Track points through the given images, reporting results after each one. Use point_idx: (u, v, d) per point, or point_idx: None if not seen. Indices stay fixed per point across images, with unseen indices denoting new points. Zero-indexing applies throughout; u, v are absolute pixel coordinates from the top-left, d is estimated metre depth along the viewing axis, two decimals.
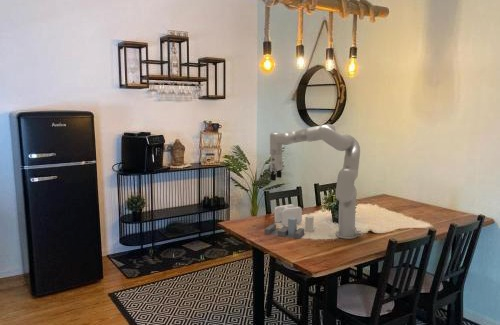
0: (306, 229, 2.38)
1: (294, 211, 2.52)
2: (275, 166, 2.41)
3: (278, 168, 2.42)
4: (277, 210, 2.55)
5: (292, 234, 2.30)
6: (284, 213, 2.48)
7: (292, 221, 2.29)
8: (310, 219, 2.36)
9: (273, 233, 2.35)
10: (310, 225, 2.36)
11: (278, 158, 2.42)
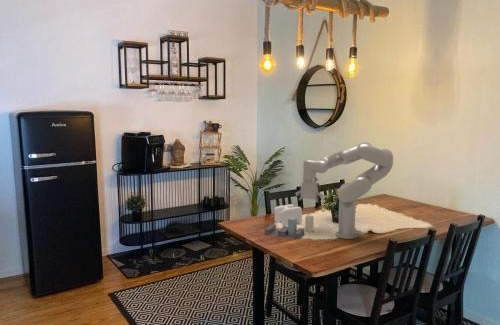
0: (306, 229, 2.38)
1: (294, 211, 2.52)
2: None
3: None
4: (277, 210, 2.55)
5: (292, 234, 2.30)
6: (284, 213, 2.48)
7: (292, 221, 2.29)
8: (310, 219, 2.36)
9: (273, 233, 2.35)
10: (310, 225, 2.36)
11: None
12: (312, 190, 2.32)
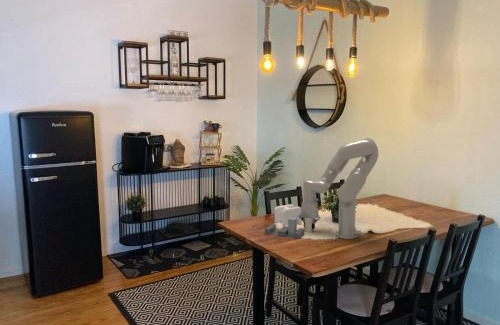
0: (306, 229, 2.38)
1: (294, 211, 2.52)
2: None
3: None
4: (277, 210, 2.55)
5: (292, 234, 2.30)
6: (284, 213, 2.48)
7: (292, 221, 2.29)
8: (310, 219, 2.36)
9: (273, 233, 2.35)
10: (310, 225, 2.36)
11: None
12: (312, 210, 2.34)
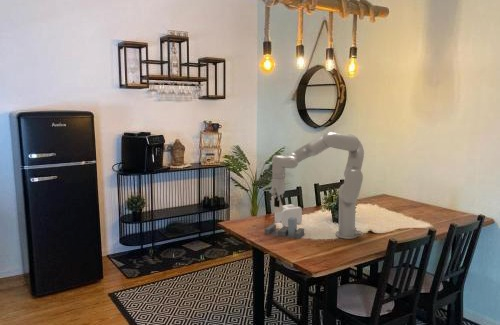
0: (280, 208, 2.33)
1: (294, 211, 2.52)
2: None
3: None
4: None
5: (292, 234, 2.30)
6: (284, 213, 2.48)
7: (292, 221, 2.29)
8: (279, 196, 2.35)
9: (273, 233, 2.35)
10: (281, 202, 2.35)
11: None
12: (284, 184, 2.34)
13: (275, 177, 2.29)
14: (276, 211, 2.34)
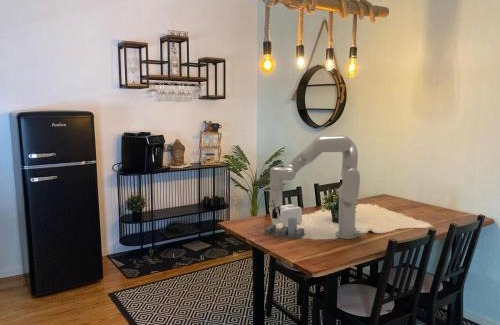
0: (278, 219, 2.34)
1: (294, 211, 2.52)
2: None
3: None
4: None
5: (292, 234, 2.30)
6: (284, 213, 2.48)
7: (292, 221, 2.29)
8: (277, 207, 2.36)
9: (273, 233, 2.35)
10: (278, 213, 2.36)
11: None
12: (281, 196, 2.35)
13: (273, 189, 2.30)
14: (274, 222, 2.34)
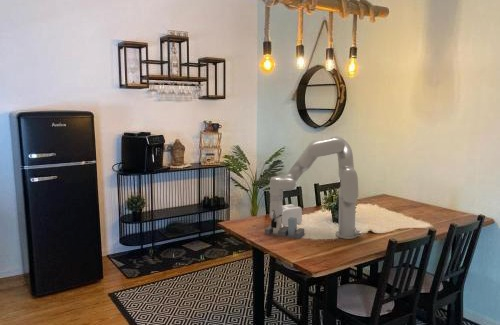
0: None
1: (294, 211, 2.52)
2: None
3: None
4: None
5: (292, 234, 2.30)
6: (284, 213, 2.48)
7: (292, 221, 2.29)
8: (281, 218, 2.36)
9: (273, 233, 2.35)
10: (281, 224, 2.36)
11: None
12: (281, 206, 2.36)
13: (273, 199, 2.31)
14: (275, 232, 2.35)
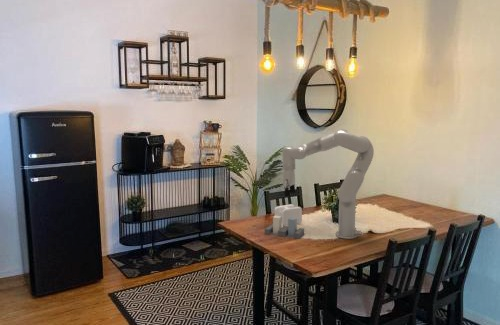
0: None
1: (294, 211, 2.52)
2: None
3: None
4: (277, 210, 2.55)
5: (292, 234, 2.30)
6: (284, 213, 2.48)
7: (292, 221, 2.29)
8: (281, 218, 2.36)
9: (273, 233, 2.35)
10: (281, 224, 2.36)
11: None
12: (294, 175, 2.40)
13: (286, 168, 2.35)
14: (275, 232, 2.35)
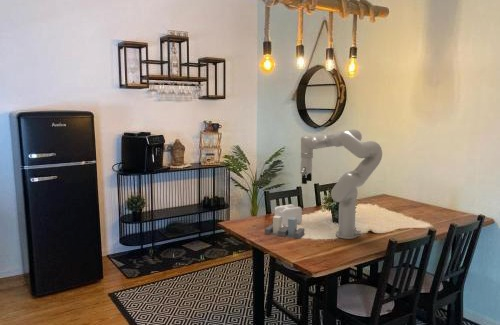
0: None
1: (294, 211, 2.52)
2: None
3: None
4: (277, 210, 2.55)
5: (292, 234, 2.30)
6: (284, 213, 2.48)
7: (292, 221, 2.29)
8: (281, 218, 2.36)
9: (273, 233, 2.35)
10: (281, 224, 2.36)
11: None
12: (311, 164, 2.49)
13: (304, 157, 2.44)
14: (275, 232, 2.35)
